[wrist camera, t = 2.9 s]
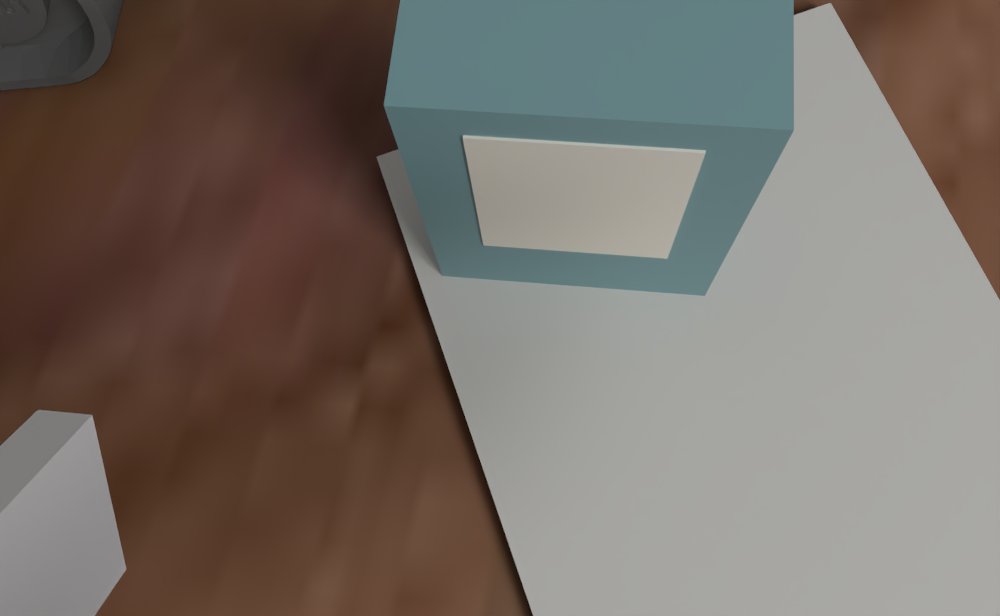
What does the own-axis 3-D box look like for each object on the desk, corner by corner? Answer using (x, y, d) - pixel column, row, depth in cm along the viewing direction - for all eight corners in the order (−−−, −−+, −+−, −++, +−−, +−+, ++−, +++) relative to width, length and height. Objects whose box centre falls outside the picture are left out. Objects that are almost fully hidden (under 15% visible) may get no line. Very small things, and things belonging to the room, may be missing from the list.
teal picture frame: (442, 277, 27) (383, 108, 17) (453, 188, 28) (403, -21, 18) (704, 298, 26) (794, 133, 17) (707, 205, 27) (793, -2, 18)
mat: (379, 165, 29) (376, 156, 28) (825, 13, 30) (830, 2, 29) (629, 895, 22) (631, 903, 21) (1195, 673, 23) (1212, 675, 22)
